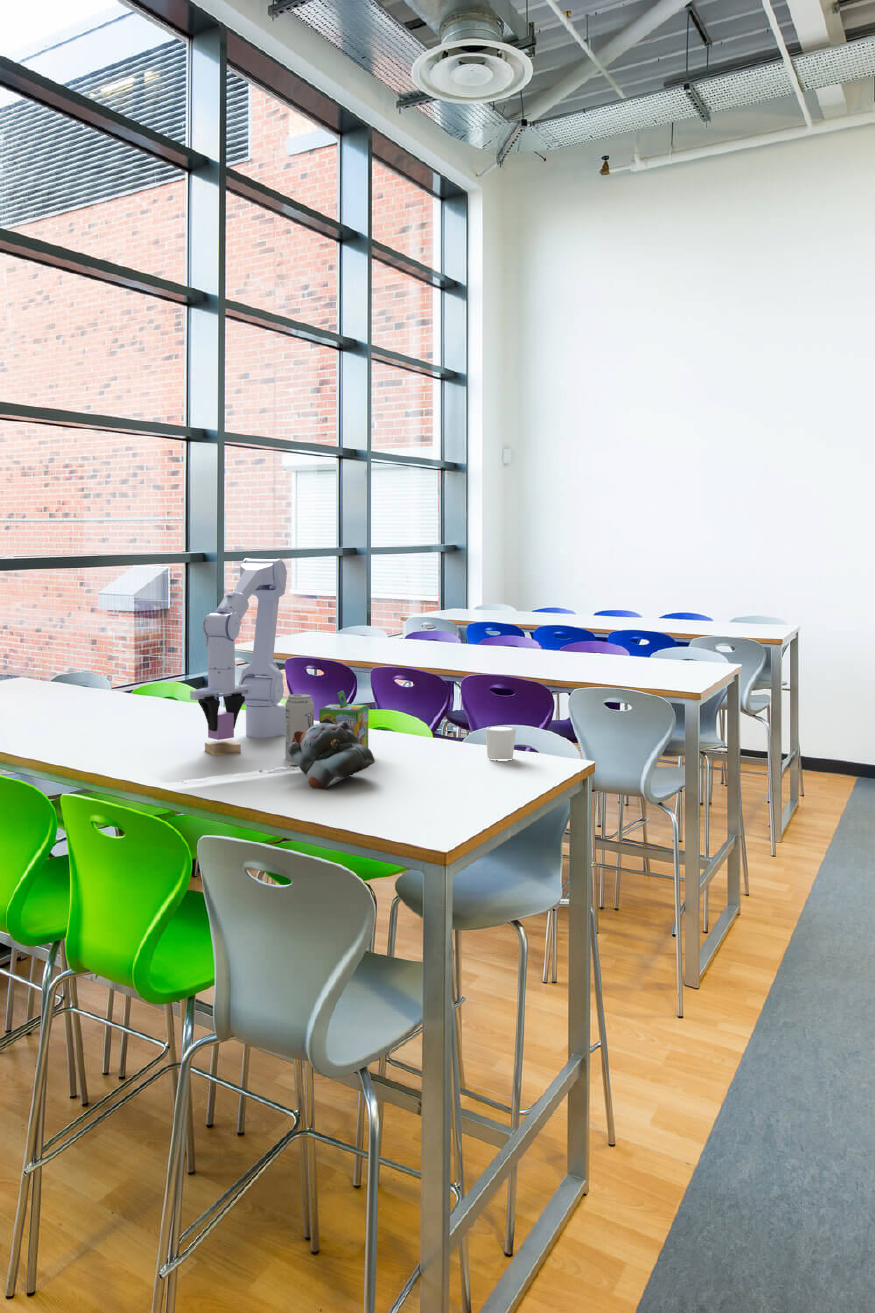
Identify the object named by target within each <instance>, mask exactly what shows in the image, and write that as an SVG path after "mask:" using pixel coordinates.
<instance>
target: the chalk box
mask: <svg viewBox="0 0 875 1313" xmlns="http://www.w3.org/2000/svg"><path fill="white" fill-rule="evenodd" d="M337 698H338V699H337V700H338V703H330V704H327V705H325V706H323V707H320V708H319V723H321V722H322V721H323V720H324V719H330V720H331V721H332V722H333V723H334V724H336V725H338V724H339V723H341V722H342V721H343V722H344V721H345V722H346V723H348V726H349V729H350V730H351V731H352V732H353V733H354V734H355V736H356V737H357V740H358V744H361V745H364V746H366V747H367V748H369V705H368V704H353V703H348V702H347V698H346V694H345V691H344V690H341V691H339V692H337ZM342 699H343V701H342Z"/></svg>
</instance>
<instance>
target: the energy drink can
mask: <svg viewBox="0 0 875 1313" xmlns="http://www.w3.org/2000/svg"><path fill="white" fill-rule="evenodd" d="M284 706H285V736H284V738H285V741H284V743H285V744H284V745H285V754H284V755H285V760H287V761H291V762H294V761H293V759H292V757H291V756H290V754H289V753H288V750H287V747H288V746H289V745H290V743H291V742H292V741H293V737H294V732H297V731H301V732H305V731H307V730H308V729H309V728H310V727H312V726H314V725H315V723H314V722H315V719H314V718H315V717H314V716H315V703H314V701H313V698H312V695H311V694H307V693H293V694H292V693H291V694H288V698H287V700H286V701H285V705H284ZM289 767H295V768H299V767H298V766H297V764H291V765H289Z"/></svg>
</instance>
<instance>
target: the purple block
mask: <svg viewBox="0 0 875 1313" xmlns="http://www.w3.org/2000/svg"><path fill="white" fill-rule="evenodd" d="M207 737H208V738H209V739H213V740H216V741H222V740H229V739H233V738H235V728H234V713H231V712H226V710H218V726H217V731H211V730H209V727H208V726H207Z"/></svg>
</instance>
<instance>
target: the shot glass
mask: <svg viewBox="0 0 875 1313" xmlns="http://www.w3.org/2000/svg"><path fill="white" fill-rule="evenodd" d="M516 733H517V729H516V728H515V727H511V726H507V725H506V726H505V725H494V726H493V725H492V726H486V727H485V738H486V739H485V740H486V741H485V742H486V753H487V754H486V755H487V756H486V757H488V758H489V759H512V758H513V757H514V749H515V742H516V741H515V740H516ZM488 758H487V759H488ZM512 760H513V759H512Z"/></svg>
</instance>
